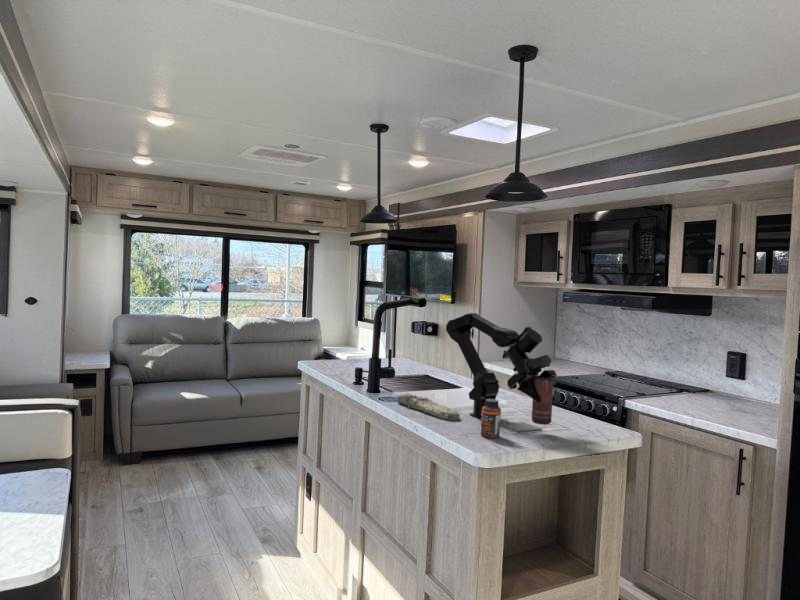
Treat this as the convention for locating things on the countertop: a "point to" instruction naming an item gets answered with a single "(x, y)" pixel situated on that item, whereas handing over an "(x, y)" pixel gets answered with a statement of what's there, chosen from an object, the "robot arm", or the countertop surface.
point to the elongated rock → (428, 406)
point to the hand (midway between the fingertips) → (545, 400)
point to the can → (543, 401)
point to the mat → (520, 426)
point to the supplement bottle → (490, 419)
